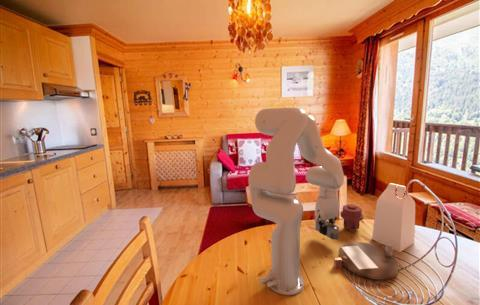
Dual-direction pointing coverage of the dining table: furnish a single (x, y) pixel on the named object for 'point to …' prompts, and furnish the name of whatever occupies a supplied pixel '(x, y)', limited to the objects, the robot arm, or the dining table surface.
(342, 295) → the dining table surface
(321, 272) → the dining table surface
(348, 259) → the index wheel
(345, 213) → the mechanical component
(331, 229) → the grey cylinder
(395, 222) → the milk
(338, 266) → the wheel stand
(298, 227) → the robot arm
